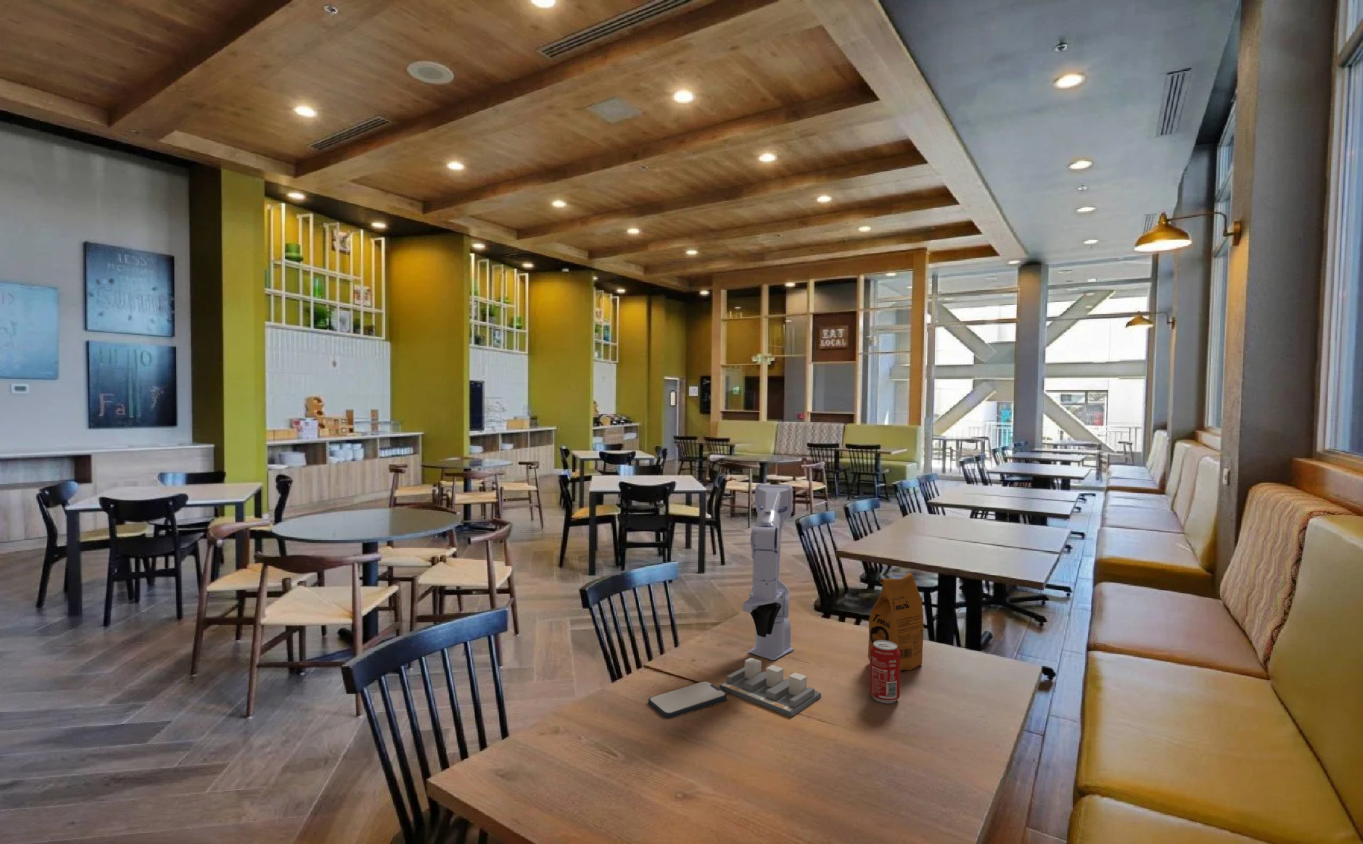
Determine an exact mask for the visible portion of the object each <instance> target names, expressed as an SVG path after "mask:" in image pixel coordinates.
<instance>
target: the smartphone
mask: <svg viewBox="0 0 1363 844" xmlns="http://www.w3.org/2000/svg"><path fill="white" fill-rule="evenodd" d="M727 699H728V695H727V692H725V691H723V690H721V689H719V687H718V686H716V685H715V684H713V683H712V682H710V681H707V680H704V681H700V682H696V683H694V684H689V685H687V686H684V687H680V688H677V689H674V690H671V691H666V692H664V693H661V694H658V695H653V696H651V697H649V698H648V699H647V704H648V705H649V706H650V707H651V708H652V709H653V710H654V711H655V712H657V713H658V714H659V715H661V717H663V718H664V719H673V718H675V717H678V715H679V716H681V714H682V715H685V714H689V713H691V711H692V712H695V711H698V709H699V710H702V709H704V708H703V707H705V708H707V707H711V706H710V705H712V706H715V705H717V703H718V704H720V703H724V702H726V701H727ZM714 704H715V705H714ZM701 708H702V709H701ZM688 712H689V713H688Z"/></svg>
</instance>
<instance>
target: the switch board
mask: <svg viewBox="0 0 1363 844" xmlns="http://www.w3.org/2000/svg"><path fill="white" fill-rule="evenodd" d="M718 688H719V689H721V690H722V691H724V692H725V693H728V694H730V695H734V696H736V697H738V698H741V699H744V700H746V701H749V702H752V703H754V704H756V705H759V706H761V707H764V708H766V709H769V710H771V711H774V712H777V713H780V714H781V715H784V716H787V717H790V718H793V717H794V716H795V715H797V714H799V713H800V712H802V711H803V710H805V709H806V708H807V707H810V706H811V705H812V704H813V703H815V702H817V700H819V699H821V698H822V692H820V691H817V690H815V689H816V688H814V687H812V686H809V687H807V689H806V690H804V691H802V692H801V693H799V694H798V695H796V696H795V695H792V694H789V678H785V679H783V681H782V682H780V683H778V684H777V685H775V686H773V687H770V686H767V685H766V670H764V671H761V673H760V674H758V675H756V676H755V677H753V678H751V679H748V678H745V666H743V667H742V668H739V669H738V670H736V671H733V672H732V673H730V674H728V675H726V681H724V682H722V683H720V684H719V687H718Z"/></svg>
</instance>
